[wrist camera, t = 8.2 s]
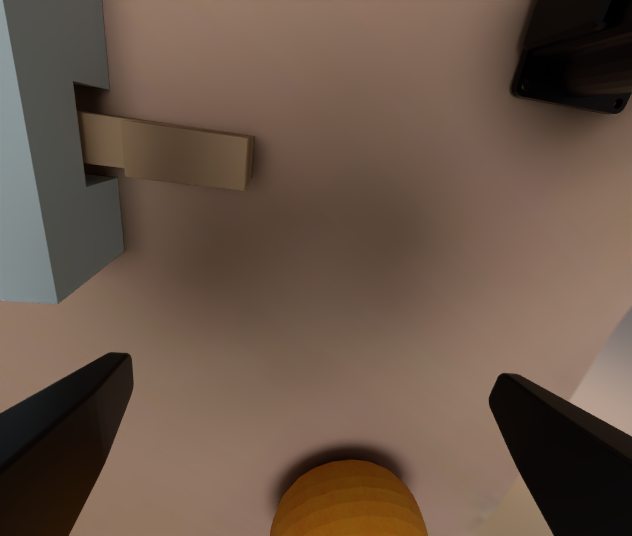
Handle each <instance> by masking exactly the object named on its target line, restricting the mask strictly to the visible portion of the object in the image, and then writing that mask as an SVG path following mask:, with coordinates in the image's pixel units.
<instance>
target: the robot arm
mask: <svg viewBox="0 0 632 536" xmlns="http://www.w3.org/2000/svg"><path fill="white" fill-rule="evenodd" d="M523 82H525V84H526V86H525V89H524V90H522V88H521V86H522V83H523ZM512 93H513V95H514V96H515V97H518V98H523V99H528V100H534V101H539V102H545V103H550V104H555V105H561V106H566V107H571V108H577V109H582V110H587V111H593V112H598V113H603V114H617V113H619V112H621V111H622V110H623V109H624V108H625V106H626V104H627V102H628V100H629V98H630V95H631V93H632V0H537V4H536V7H535V10H534V13H533V16H532V19H531V22H530V26H529V29H528V32H527V35H526V38H525V41H524V50H523V53H522V56H521V59H520V62H519V65H518V68H517V71H516V75H515V78H514V81H513V84H512ZM615 101H616V104H615V106H614V102H615ZM133 384H134V382H133V368H132V358H131V355H130V354H128V353H117V352H110V353H107V354H105V355H103V356H102V357H100V358H98V359H96V360H95V361H93V362H91V363H89V364H87V365H86V366H84V367H82V368H80V369H79V370H77V371H75V372H73V373H71V374H70V375H68V376H66V377H64V378H62V379H61V380H59V381H57V382H55V383H54V384H52V385H50V386H48V387H46V388H45V389H43V390H41V391H39V392H37V393H36V394H34V395H32V396H30V397H29V398H27V399H25V400H23V401H21V402H20V403H18V404H16V405H14V406H13V407H11V408H9V409H7V410H5V411H4V412H2V413H0V536H69V534H70V532H71V530H72V528H73V526H74V524H75V522H76V520H77V518H78V516H79V514H80V512H81V510H82V508H83V506H84V504H85V502H86V500H87V498H88V496H89V495H90V493H91V491H92V489H93V487H94V485H95V483H96V481H97V479H98V477H99V475H100V473H101V470H102V468H103V466H104V464H105V462H106V459H107V457H108V454H109V452H110V449H111V447H112V444H113V441H114V439H115V436H116V434H117V431H118V428H119V426H120V423H121V420H122V418H123V415H124V413H125V410H126V407H127V405H128V402H129V400H130V397H131V394H132V391H133ZM489 406H490V409H491V411H492V413H493V415H494V418H495V420H496V422H497V424H498V427H499V429H500V431H501V433H502V436H503V438H504V440H505V443H506V445H507V447H508V449H509V452H510V454H511V456H512V458H513V460H514V462H515V465H516V467H517V469H518V470H519V472H520V474H521V476H522V478H523V480H524V482H525V483H526V485H527V487H528V489H529V491H530V493H531V495H532V496H533V498H534V500H535V502H536V504H537V506H538V507H539V509H540V511H541V513H542V515H543V517H544V518H545V520H546V522H547V524H548V526H549V528H550V529H551V531H552V533H553V535H554V536H632V436H630V435H628V434H626V433H624V432H623V431H621V430H619V429H617V428H615V427H613V426H612V425H610V424H608V423H606V422H604V421H603V420H601V419H599V418H597V417H595V416H594V415H592V414H590V413H588V412H586V411H584V410H582V409H581V408H579V407H577V406H575V405H573V404H572V403H570V402H568V401H566V400H564V399H563V398H561V397H559V396H557V395H555V394H553V393H552V392H550V391H548V390H546V389H544V388H542V387H541V386H539V385H537V384H535V383H533V382H532V381H530V380H528V379H526V378H524V377H522V376H521V375H518V374H513V373H502V374H500V375H499V376H498V378H497V380H496V382H495V385H494V387H493V389H492V391H491V394H490V396H489Z"/></svg>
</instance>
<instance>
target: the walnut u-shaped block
mask: <svg viewBox="0 0 632 536" xmlns="http://www.w3.org/2000/svg"><path fill="white" fill-rule="evenodd" d="M77 118H78V126H79V134H80V142H81V150H82V158H83V163H86V164H94V165H102V166H110V167H118V168H124V173H125V177H132V178H140V179H148V180H157V181H165V182H173V183H182V184H190V185H198V186H206V187H215V188H223V189H231V190H239V191H245V189H246V187H247V185H248V184H249V182H250V180H251V178H252V173H253V157H254V142H255V136H249V135H242V134H235V133H229V132H222V131H215V130H208V129H201V128H195V127H188V126H181V125H174V124H167V123H161V122H154V121H147V120H140V119H133V118H126V117H120V116H113V115H106V114H99V113H92V112H86V111H79V110H77Z"/></svg>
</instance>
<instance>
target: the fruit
mask: <svg viewBox="0 0 632 536" xmlns="http://www.w3.org/2000/svg"><path fill="white" fill-rule="evenodd" d="M270 536H428V533H427V530H426V526H425V523H424V520H423V517H422V514H421V512H420V509H419V507H418V504H417V502H416V500H415V498H414V496H413V494H412V493H411V492H410V490H409V489H408V487H407V486H406V485H405V484H404V483H403V482H402V481H401V480H399V479H398V478H397V477H396V476H395V475H394V474H393V473H392V472H391V471H390V470H388V469H386V468H384V467H381V466H379V465H376V464H374V463H372V462H369V461H361V460H352V459H350V460H341V461H333V462H330V463H327V464H324V465H321V466H318V467H315V468H313V469H312V470H310V471H308V472H307V473H305V474H304V475H302V476H301V477H299V478H298V479H297V480H296V481H295V483H294V484H293V485H292V486H291V487H290V488H289V489H288V490H287V491H286V493H285V494H284V495H283V497H282V499H281V501H280V503H279V505H278V508H277V511H276V513H275V516H274V519H273V522H272V526H271V531H270Z"/></svg>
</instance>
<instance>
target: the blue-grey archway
mask: <svg viewBox="0 0 632 536" xmlns="http://www.w3.org/2000/svg"><path fill="white" fill-rule="evenodd" d="M73 84H75V85H81V86H88V87H94V88H101V89H108V90H110V87H109V76H108V64H107V53H106V42H105V31H104V20H103V8H102V0H0V301H14V302H30V303H47V304H59V303H60V302H61V301H62V300H64V299H65V298H66V297H67V296H69V295H70V294H71V293H72V292H74V291H75V290H76V289H78V288H79V287H80V286H81V285H83V284H84V283H85V282H86V281H88V280H89V279H90V278H91V277H93V276H94V275H95V274H96V273H98V272H99V271H100V270H102V269H103V268H104V267H105V266H107V265H108V264H109V263H110V262H112V261H113V260H114V259H115V258H117V257H118V256H119V255H120V254H122V253H123V252H124V243H123V232H122V221H121V210H120V199H119V188H118V178H115V177H106V176H97V175H88V174H84V166H83V158H82V150H81V142H80V134H79V126H78V118H77V110H76V102H75V94H74V86H73Z"/></svg>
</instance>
